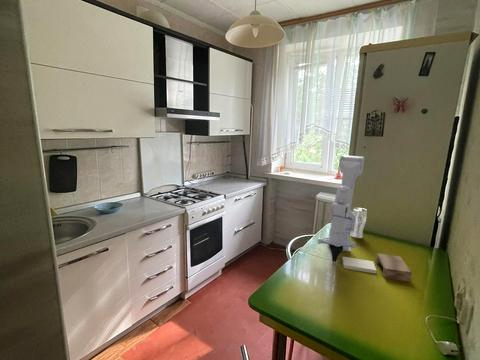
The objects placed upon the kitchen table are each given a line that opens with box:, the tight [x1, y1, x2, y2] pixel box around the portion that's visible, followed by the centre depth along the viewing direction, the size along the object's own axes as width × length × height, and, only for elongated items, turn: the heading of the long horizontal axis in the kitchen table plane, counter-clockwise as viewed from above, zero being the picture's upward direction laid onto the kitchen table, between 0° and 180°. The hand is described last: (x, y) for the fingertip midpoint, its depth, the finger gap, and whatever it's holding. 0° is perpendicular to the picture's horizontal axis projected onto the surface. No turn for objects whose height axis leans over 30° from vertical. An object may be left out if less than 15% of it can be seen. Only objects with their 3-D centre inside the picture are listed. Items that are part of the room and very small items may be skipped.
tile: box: [341, 256, 378, 274], centre depth 105 cm, size 12×7×2 cm, turn 73°
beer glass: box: [350, 206, 368, 239], centre depth 133 cm, size 7×7×15 cm
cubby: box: [375, 253, 413, 283], centre depth 102 cm, size 9×12×4 cm
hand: (334, 260), depth 107 cm, fingers closed
